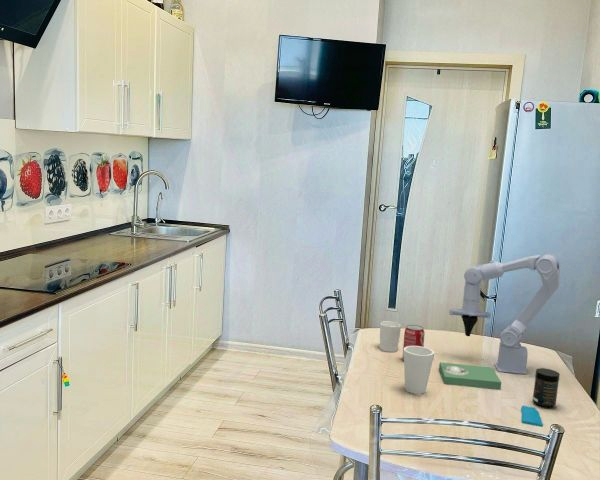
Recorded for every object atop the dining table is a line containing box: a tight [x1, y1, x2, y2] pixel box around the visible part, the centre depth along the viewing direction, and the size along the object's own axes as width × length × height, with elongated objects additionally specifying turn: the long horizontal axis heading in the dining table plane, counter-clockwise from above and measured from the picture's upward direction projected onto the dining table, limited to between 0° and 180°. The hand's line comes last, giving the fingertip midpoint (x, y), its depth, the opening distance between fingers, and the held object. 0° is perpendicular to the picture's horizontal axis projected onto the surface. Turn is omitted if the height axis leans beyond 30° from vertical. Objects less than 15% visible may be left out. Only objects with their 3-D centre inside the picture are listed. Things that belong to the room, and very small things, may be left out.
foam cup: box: [402, 346, 435, 395], centre depth 185 cm, size 10×9×13 cm
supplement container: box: [532, 367, 561, 410], centre depth 180 cm, size 7×7×10 cm
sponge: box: [520, 405, 544, 427], centre depth 171 cm, size 2×12×6 cm
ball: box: [449, 366, 461, 373], centre depth 198 cm, size 4×4×4 cm
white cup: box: [379, 320, 402, 353], centre depth 224 cm, size 8×8×10 cm
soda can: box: [402, 324, 426, 361], centre depth 211 cm, size 7×7×13 cm
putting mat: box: [438, 361, 502, 391], centre depth 198 cm, size 18×14×2 cm
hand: (467, 335), depth 216 cm, fingers closed
